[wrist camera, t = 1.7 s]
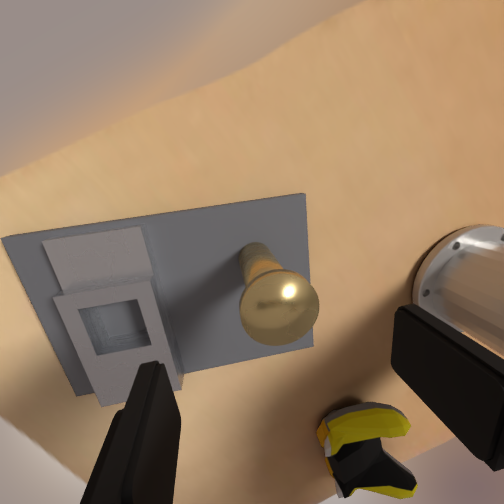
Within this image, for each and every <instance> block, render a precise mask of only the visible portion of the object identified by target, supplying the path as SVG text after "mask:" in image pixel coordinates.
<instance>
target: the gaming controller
mask: <svg viewBox="0 0 504 504" xmlns="http://www.w3.org/2000/svg"><path fill="white" fill-rule="evenodd" d="M410 427H411V425H410V423H409V421H408V419H407V418H406V417H405V415H404V414H403V413H402V412H401V411H400V410H398V409H396V408H395V407H393V406H391V405H387V404H381V403H376V402H365V403H361V404H358V405H354V406H349V407H345V408H343V409H339V410H333V411H332V412H330V413H329V414H328V415H327V417H325V418H323V419H322V422H321V425H320V427H319V428H318V430H317V432H316V434H317V437H318V439H319V442H320V444H321V447H323V448H324V450H325V457H326V458H325V462H326V465H327V467H328V470H329V473H330V475H331V476H332V477H333V478H334V479H335V485H336V491H337V495H338V497H339V498H341V497H344V498H347V497H349V496H351V495H352V494H353V493H354V491H355V490H357V489H364V490H369V491H372V492H377V493H380V494H384V495H388V496H391V497H394V498H398V499H403V498H410V497H413V495H414V493H415V491H416V489H417V486H418V485H417V482H416V480H415V477H414V476H413V474H412V472H411V471H410V470H409V469H407V468H406V467H405V466H404V465H402V464H401V463H400V462H399V461H397V460H396V459H395V458H393V457H392V456H391V455H390V454H389V453H387V452H386V451H385V450H384V449H383V448H382V445H381V440H380V437H388V438H392V437H399V436H405V435H406V433H407V432H408V430H409V428H410Z"/></svg>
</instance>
